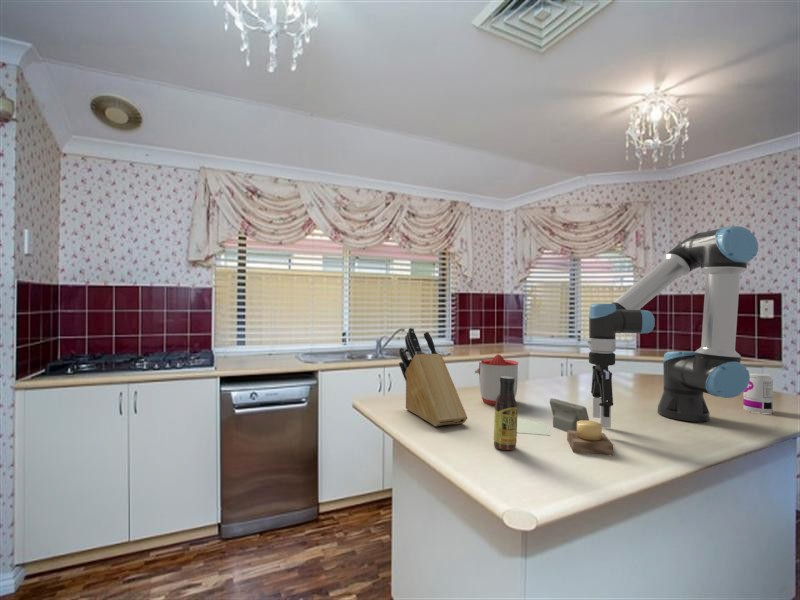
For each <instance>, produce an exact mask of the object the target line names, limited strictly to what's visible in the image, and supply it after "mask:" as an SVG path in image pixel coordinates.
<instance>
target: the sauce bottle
mask: <svg viewBox="0 0 800 600" xmlns="http://www.w3.org/2000/svg"><path fill="white" fill-rule="evenodd" d="M514 382H515V378H514V377H509V376H501V377H500V394H499V395H498V397H497V399H496V402H495V406H494V407H495V408H494V421H493V422H494V423H493V424H494V425H493V445H494V447H495V448H497V449H498V450H502V451H513V450H515V449H516V447H517V441H518V440H517V437H518V435H517V434H518V433H517V418H518V404H517V401H516V396H515V397H514Z"/></svg>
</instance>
